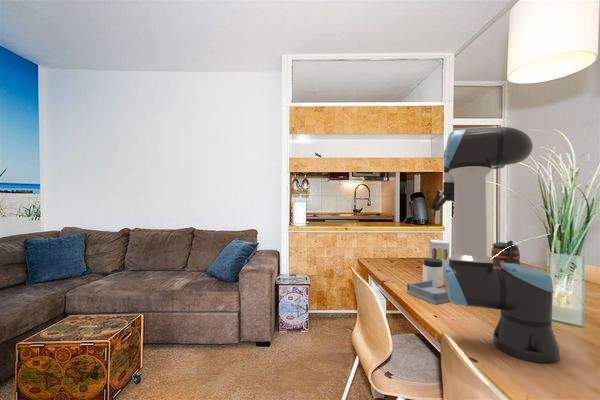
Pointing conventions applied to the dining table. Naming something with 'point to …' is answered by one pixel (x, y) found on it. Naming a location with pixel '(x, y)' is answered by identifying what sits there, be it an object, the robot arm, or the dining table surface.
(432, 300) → the dock bay
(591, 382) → the dining table surface
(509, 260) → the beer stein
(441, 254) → the supplement box
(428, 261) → the jar
